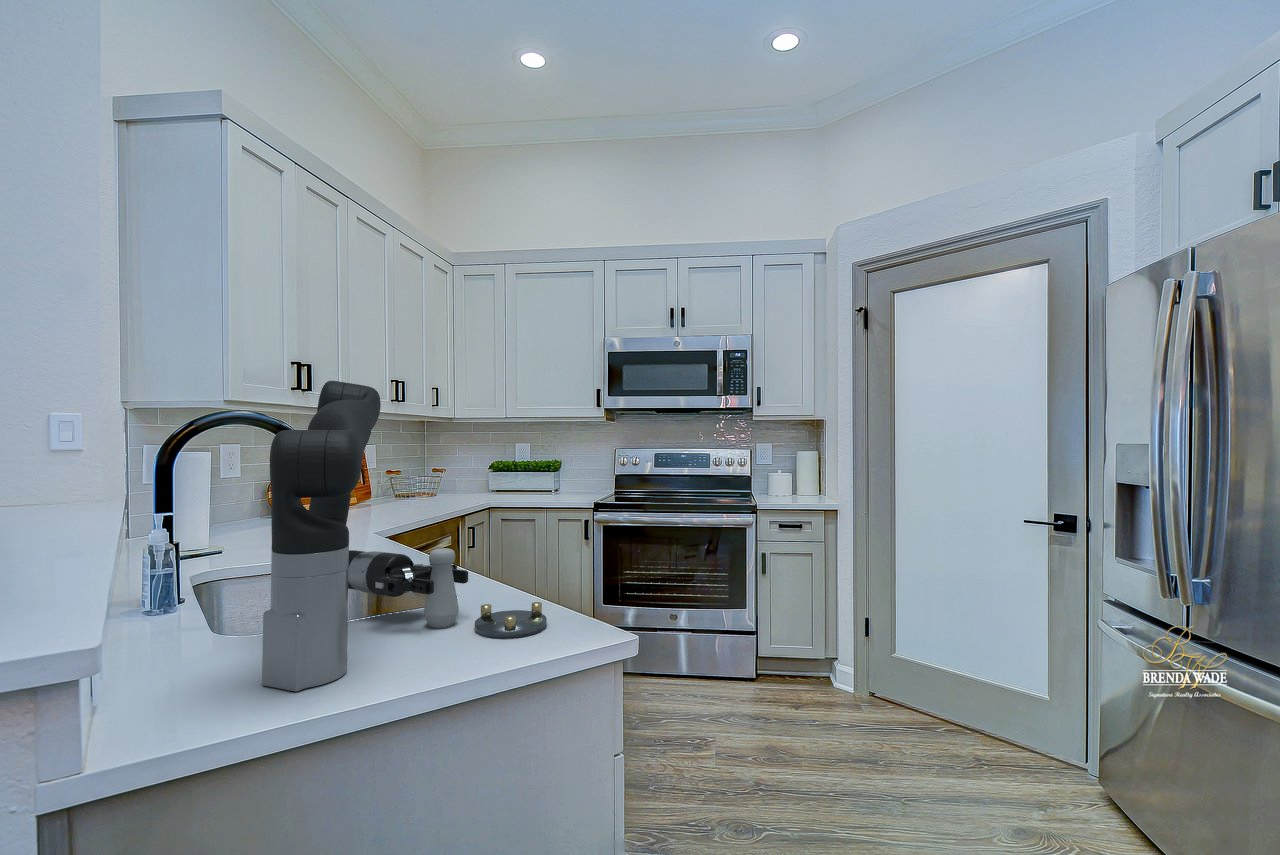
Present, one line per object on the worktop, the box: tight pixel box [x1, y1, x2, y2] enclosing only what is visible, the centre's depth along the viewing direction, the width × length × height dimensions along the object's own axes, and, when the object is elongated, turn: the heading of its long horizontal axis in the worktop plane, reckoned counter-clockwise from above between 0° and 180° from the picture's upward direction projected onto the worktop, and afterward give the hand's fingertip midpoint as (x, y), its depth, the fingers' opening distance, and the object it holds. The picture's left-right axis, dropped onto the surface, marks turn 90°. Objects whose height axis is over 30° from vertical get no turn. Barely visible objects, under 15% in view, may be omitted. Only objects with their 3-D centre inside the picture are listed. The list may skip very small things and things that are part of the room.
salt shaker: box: [423, 547, 460, 629], centre depth 104 cm, size 6×6×13 cm
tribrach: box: [474, 601, 548, 640], centre depth 103 cm, size 12×12×3 cm
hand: (450, 582), depth 104 cm, fingers open, 8 cm apart
